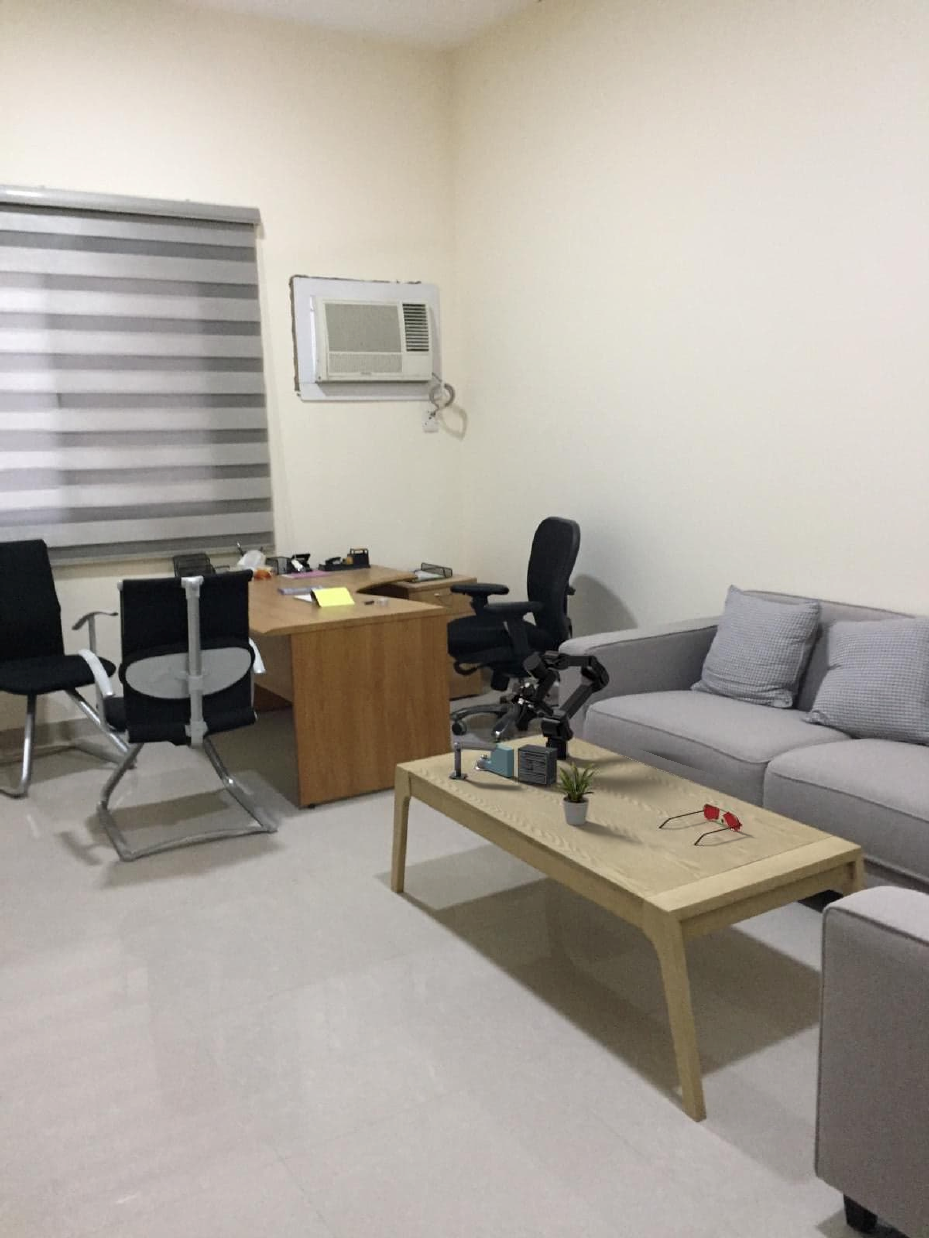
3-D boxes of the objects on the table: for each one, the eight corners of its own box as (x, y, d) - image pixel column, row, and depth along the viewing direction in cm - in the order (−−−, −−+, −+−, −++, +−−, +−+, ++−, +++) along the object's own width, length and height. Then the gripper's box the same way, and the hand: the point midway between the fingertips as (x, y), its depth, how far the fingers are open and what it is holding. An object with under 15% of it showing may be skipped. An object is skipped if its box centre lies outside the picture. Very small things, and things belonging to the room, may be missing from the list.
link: (473, 765, 317) (473, 740, 315) (485, 762, 319) (485, 737, 318) (504, 777, 304) (504, 751, 303) (516, 774, 307) (516, 748, 306)
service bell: (497, 764, 318) (497, 753, 318) (492, 771, 312) (492, 759, 311) (476, 763, 320) (476, 751, 320) (470, 769, 314) (470, 757, 313)
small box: (558, 781, 302) (558, 747, 300) (548, 787, 296) (548, 753, 295) (527, 776, 307) (527, 742, 306) (516, 781, 302) (516, 748, 300)
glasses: (743, 834, 259) (743, 816, 258) (694, 847, 251) (694, 827, 250) (705, 818, 271) (705, 800, 270) (657, 829, 263) (658, 811, 262)
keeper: (498, 777, 306) (498, 743, 304) (494, 782, 301) (494, 748, 300) (453, 773, 310) (453, 740, 308) (448, 778, 305) (448, 744, 304)
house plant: (610, 814, 273) (611, 756, 270) (603, 832, 260) (604, 772, 257) (558, 810, 277) (559, 753, 274) (549, 827, 264) (549, 767, 261)
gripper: (508, 667, 322) (482, 708, 318) (543, 676, 306) (516, 719, 302) (530, 686, 327) (505, 726, 323) (565, 696, 311) (539, 738, 308)
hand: (515, 727), depth 314 cm, fingers closed
